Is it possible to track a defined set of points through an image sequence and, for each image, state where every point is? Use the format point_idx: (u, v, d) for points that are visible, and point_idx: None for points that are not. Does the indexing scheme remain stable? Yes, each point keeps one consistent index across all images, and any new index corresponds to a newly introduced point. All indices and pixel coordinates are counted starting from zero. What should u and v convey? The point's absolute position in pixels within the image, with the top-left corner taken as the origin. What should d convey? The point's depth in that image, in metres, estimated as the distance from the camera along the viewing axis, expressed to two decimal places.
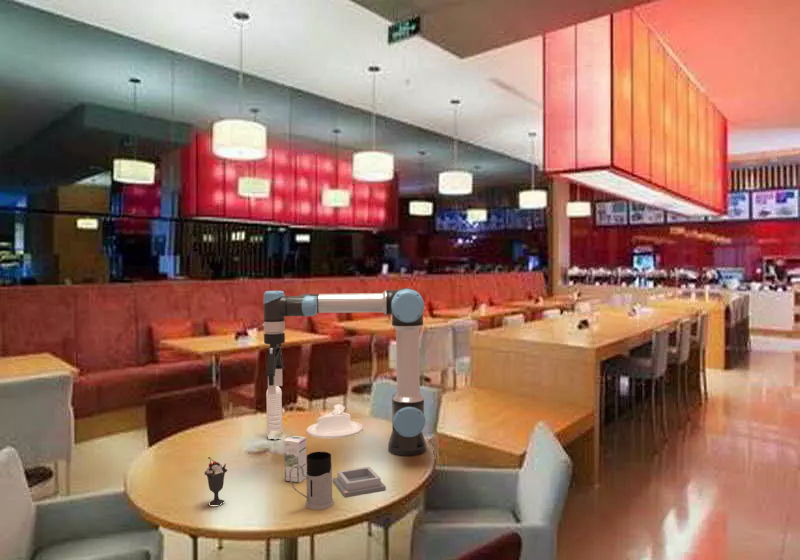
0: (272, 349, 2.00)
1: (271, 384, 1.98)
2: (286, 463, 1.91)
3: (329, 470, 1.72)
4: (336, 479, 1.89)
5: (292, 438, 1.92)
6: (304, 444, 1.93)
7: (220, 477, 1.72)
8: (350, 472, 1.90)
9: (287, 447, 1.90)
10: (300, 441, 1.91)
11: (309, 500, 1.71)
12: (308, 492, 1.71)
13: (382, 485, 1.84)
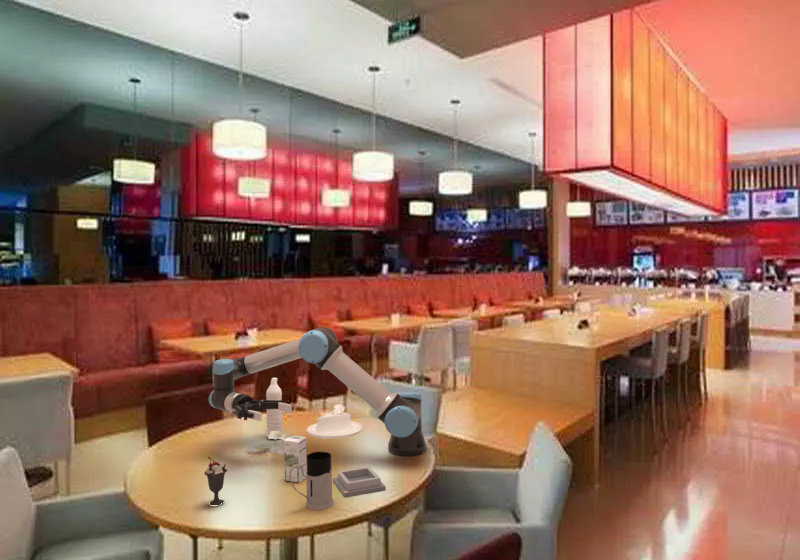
0: (232, 408, 2.03)
1: (250, 415, 1.94)
2: (286, 463, 1.91)
3: (329, 470, 1.72)
4: (336, 479, 1.89)
5: (292, 438, 1.92)
6: (304, 444, 1.93)
7: (220, 477, 1.72)
8: (350, 472, 1.90)
9: (287, 447, 1.90)
10: (300, 441, 1.91)
11: (309, 500, 1.71)
12: (308, 492, 1.71)
13: (382, 485, 1.84)
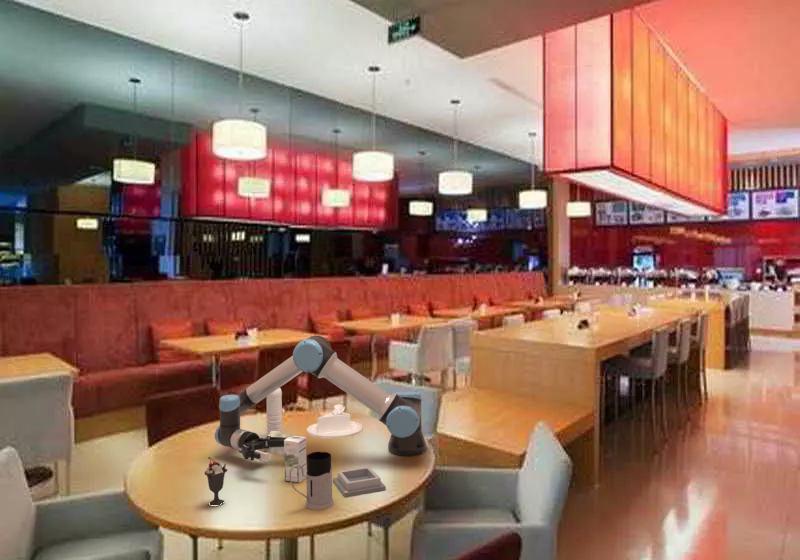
0: (239, 447, 2.01)
1: (257, 456, 1.92)
2: (286, 463, 1.91)
3: (329, 470, 1.72)
4: (336, 479, 1.89)
5: (292, 438, 1.92)
6: (304, 444, 1.93)
7: (220, 477, 1.72)
8: (350, 472, 1.90)
9: (287, 447, 1.90)
10: (300, 441, 1.91)
11: (309, 500, 1.71)
12: (308, 492, 1.71)
13: (382, 485, 1.84)
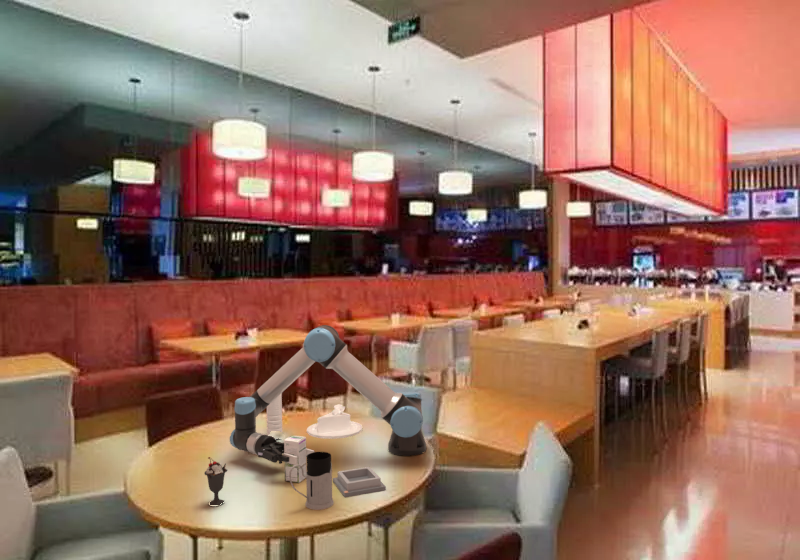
0: (258, 452, 1.95)
1: (285, 459, 1.88)
2: (286, 463, 1.91)
3: (329, 470, 1.72)
4: (336, 479, 1.89)
5: (292, 438, 1.92)
6: (304, 444, 1.93)
7: (220, 477, 1.72)
8: (350, 472, 1.90)
9: (287, 447, 1.90)
10: (300, 441, 1.91)
11: (309, 500, 1.71)
12: (308, 492, 1.71)
13: (382, 485, 1.84)
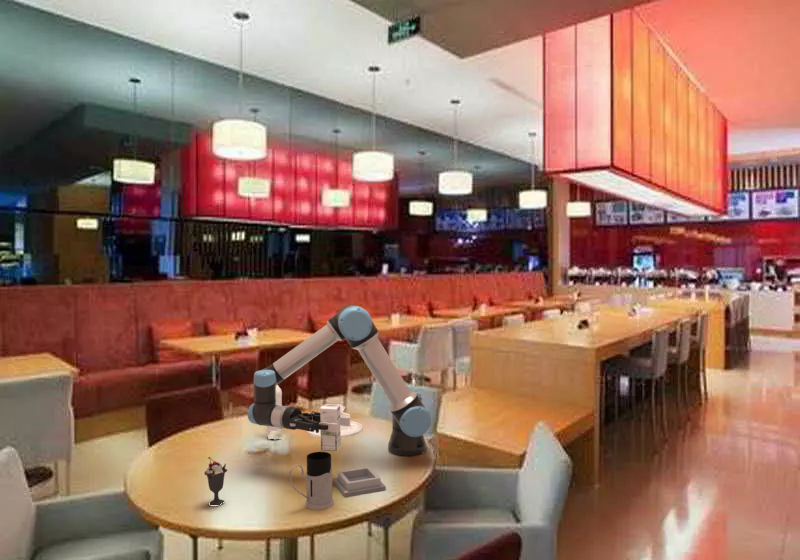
0: (290, 423, 1.87)
1: (325, 427, 1.82)
2: (323, 432, 1.85)
3: (329, 470, 1.72)
4: (336, 479, 1.89)
5: (328, 406, 1.87)
6: (339, 412, 1.89)
7: (220, 477, 1.72)
8: (350, 472, 1.90)
9: (324, 415, 1.85)
10: (337, 408, 1.86)
11: (309, 500, 1.71)
12: (308, 492, 1.71)
13: (382, 485, 1.84)
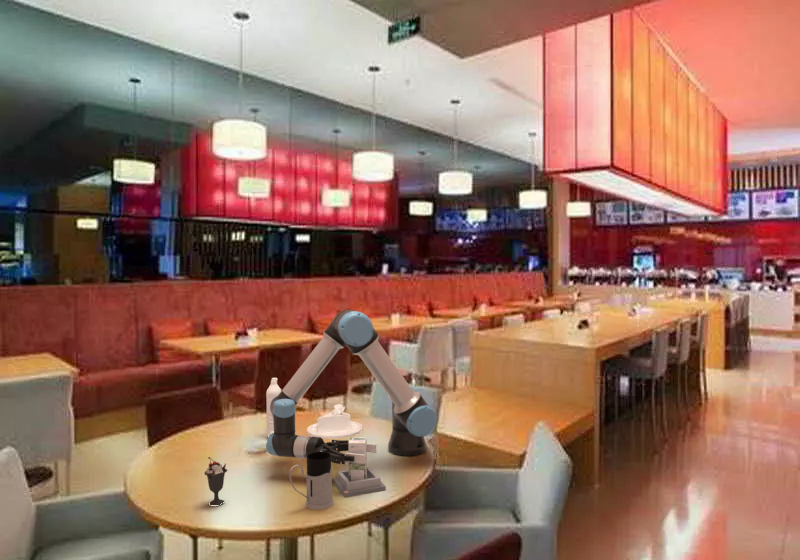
0: None
1: (352, 458, 1.80)
2: (351, 466, 1.84)
3: (329, 470, 1.72)
4: (336, 479, 1.89)
5: (355, 440, 1.86)
6: None
7: (220, 477, 1.72)
8: None
9: (353, 450, 1.84)
10: (365, 442, 1.85)
11: (309, 500, 1.71)
12: (308, 492, 1.71)
13: (382, 485, 1.84)
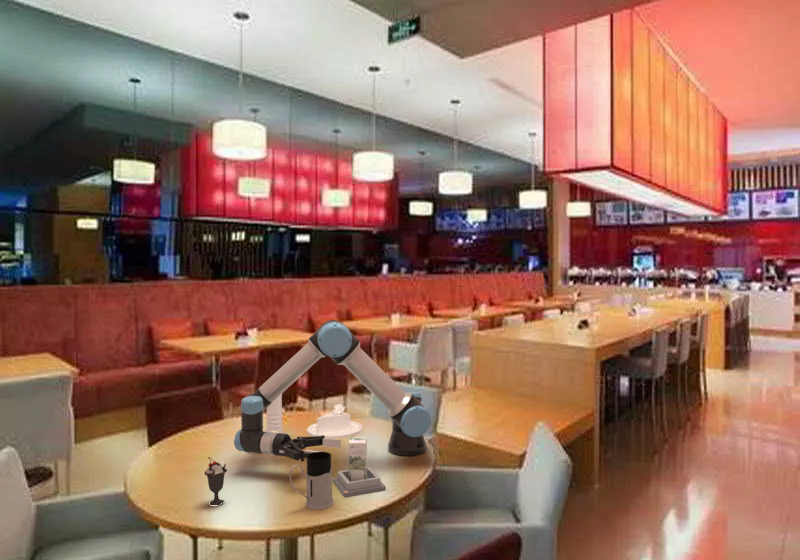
0: (280, 450, 1.88)
1: None
2: (351, 466, 1.84)
3: (329, 470, 1.72)
4: (336, 479, 1.89)
5: (355, 440, 1.86)
6: (366, 445, 1.88)
7: (220, 477, 1.72)
8: None
9: (353, 450, 1.84)
10: (365, 442, 1.85)
11: (309, 500, 1.71)
12: (308, 492, 1.71)
13: (382, 485, 1.84)
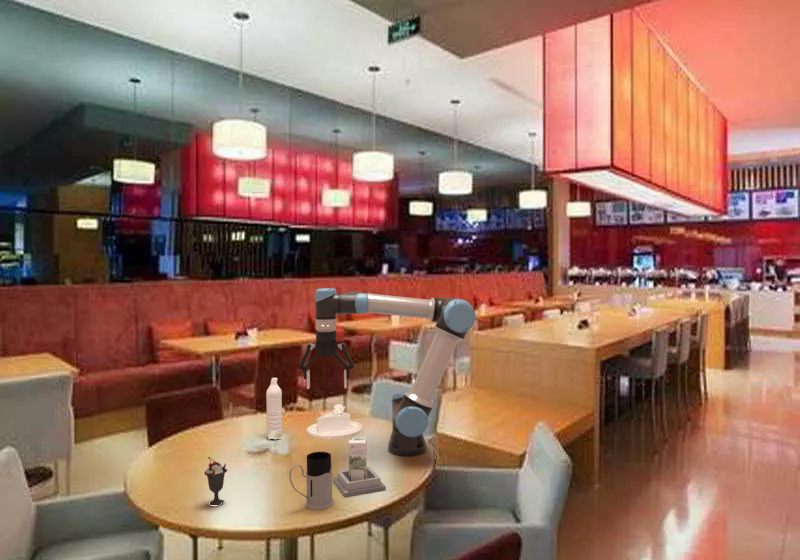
0: (344, 344, 2.06)
1: None
2: (351, 466, 1.84)
3: (329, 470, 1.72)
4: (336, 479, 1.89)
5: (355, 440, 1.86)
6: (366, 445, 1.88)
7: (220, 477, 1.72)
8: None
9: (353, 450, 1.84)
10: (365, 442, 1.85)
11: (309, 500, 1.71)
12: (308, 492, 1.71)
13: (382, 485, 1.84)
